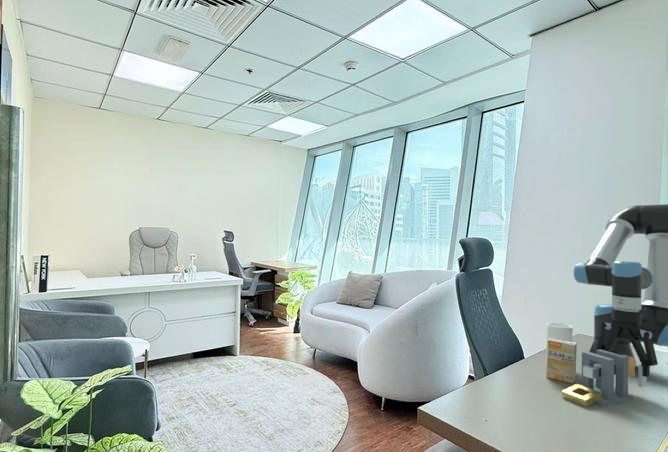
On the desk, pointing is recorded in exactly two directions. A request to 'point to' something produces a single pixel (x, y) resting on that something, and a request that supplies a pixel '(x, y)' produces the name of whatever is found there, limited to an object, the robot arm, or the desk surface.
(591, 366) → the shaft
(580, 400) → the yellow square frame
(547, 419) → the desk surface
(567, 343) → the supplement box
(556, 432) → the desk surface
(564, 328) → the white hollow tube
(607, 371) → the bracket
